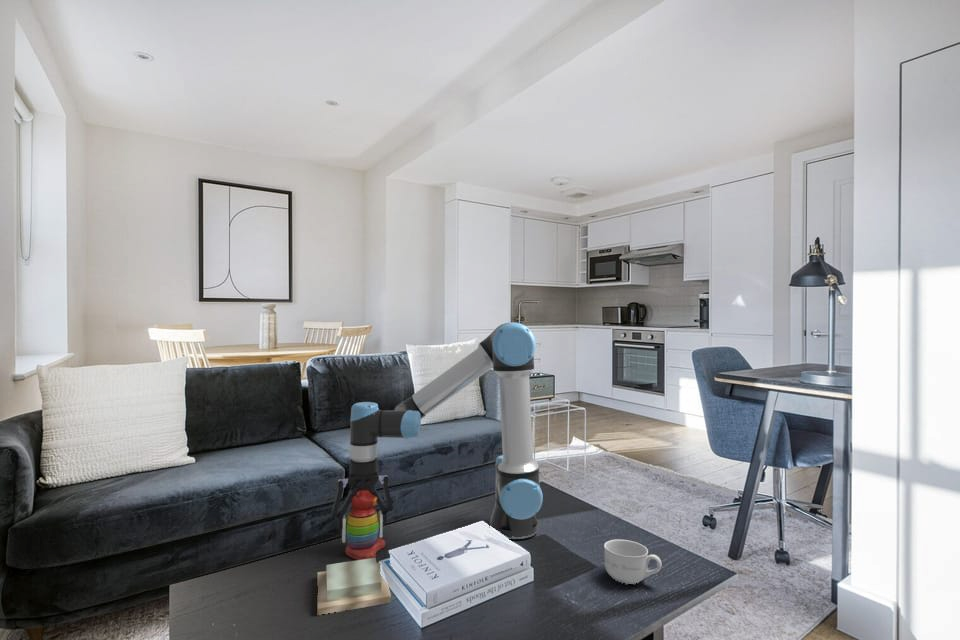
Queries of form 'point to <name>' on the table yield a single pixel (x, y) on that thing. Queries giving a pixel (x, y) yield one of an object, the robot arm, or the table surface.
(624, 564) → the teacup
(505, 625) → the table surface
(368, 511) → the stacking bear
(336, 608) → the plinth
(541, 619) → the table surface
